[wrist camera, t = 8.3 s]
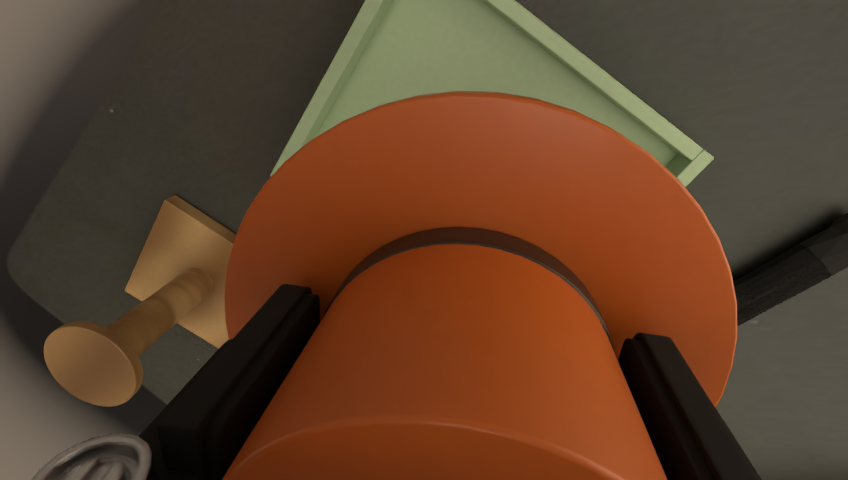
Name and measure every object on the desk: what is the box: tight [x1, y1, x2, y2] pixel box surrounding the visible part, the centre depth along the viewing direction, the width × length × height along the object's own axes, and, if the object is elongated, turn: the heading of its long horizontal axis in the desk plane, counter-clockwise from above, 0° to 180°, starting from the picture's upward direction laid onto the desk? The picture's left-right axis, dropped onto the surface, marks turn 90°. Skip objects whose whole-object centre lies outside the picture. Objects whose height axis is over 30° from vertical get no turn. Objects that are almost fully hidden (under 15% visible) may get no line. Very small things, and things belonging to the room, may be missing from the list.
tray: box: [270, 0, 714, 187], centre depth 27 cm, size 20×16×3 cm
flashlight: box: [733, 213, 848, 326], centre depth 28 cm, size 3×16×3 cm, turn 132°
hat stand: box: [44, 195, 236, 406], centre depth 29 cm, size 9×9×11 cm
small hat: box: [222, 91, 737, 480], centre depth 8 cm, size 11×11×6 cm
